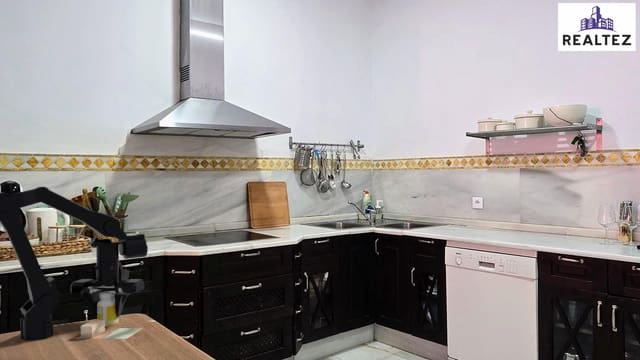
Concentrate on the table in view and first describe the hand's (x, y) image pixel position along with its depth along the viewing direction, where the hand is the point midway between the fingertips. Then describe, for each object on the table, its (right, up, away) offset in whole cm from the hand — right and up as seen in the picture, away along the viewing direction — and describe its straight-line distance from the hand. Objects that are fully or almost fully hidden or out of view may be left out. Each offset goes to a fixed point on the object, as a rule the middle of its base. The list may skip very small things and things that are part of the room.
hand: (108, 316), depth 133 cm
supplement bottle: (0, -3, 0) cm, 3 cm away
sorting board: (+5, -3, -9) cm, 11 cm away
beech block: (+1, -2, -10) cm, 10 cm away
